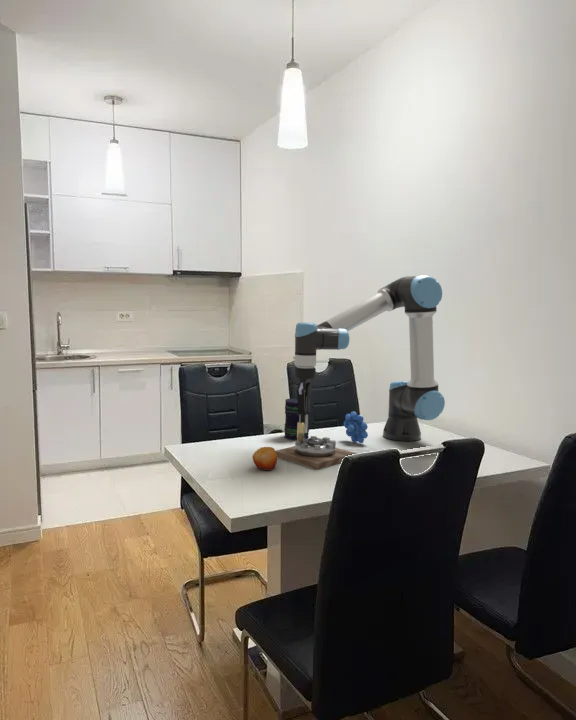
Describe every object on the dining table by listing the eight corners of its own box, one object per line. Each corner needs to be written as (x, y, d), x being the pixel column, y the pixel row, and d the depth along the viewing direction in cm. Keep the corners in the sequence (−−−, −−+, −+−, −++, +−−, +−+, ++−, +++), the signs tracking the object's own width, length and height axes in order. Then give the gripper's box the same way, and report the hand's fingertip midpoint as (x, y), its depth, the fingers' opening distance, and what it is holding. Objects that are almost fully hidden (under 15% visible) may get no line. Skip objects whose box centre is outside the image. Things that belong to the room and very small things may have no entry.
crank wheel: (302, 444, 206) (302, 418, 205) (339, 448, 201) (340, 422, 200) (289, 453, 193) (290, 426, 192) (329, 458, 188) (330, 430, 187)
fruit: (285, 462, 186) (279, 444, 181) (274, 479, 180) (267, 461, 176) (264, 458, 190) (258, 440, 185) (253, 474, 184) (246, 457, 180)
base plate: (312, 446, 211) (312, 440, 211) (355, 458, 197) (355, 451, 197) (274, 456, 197) (274, 449, 197) (317, 469, 183) (317, 462, 183)
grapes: (336, 441, 221) (337, 410, 220) (347, 438, 226) (348, 408, 224) (359, 447, 213) (361, 415, 211) (370, 444, 217) (372, 413, 216)
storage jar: (308, 440, 220) (310, 403, 219) (283, 440, 220) (284, 402, 219) (308, 434, 230) (309, 398, 228) (284, 434, 230) (285, 397, 229)
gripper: (299, 363, 205) (297, 427, 208) (289, 368, 193) (288, 435, 196) (319, 365, 203) (317, 429, 206) (311, 369, 191) (309, 437, 194)
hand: (303, 432), depth 201 cm, fingers closed
